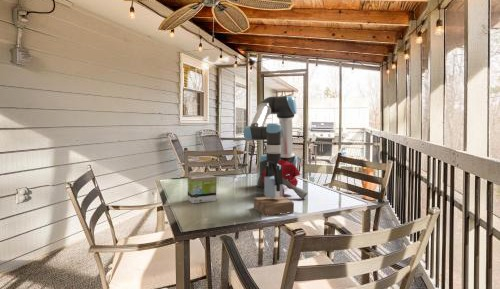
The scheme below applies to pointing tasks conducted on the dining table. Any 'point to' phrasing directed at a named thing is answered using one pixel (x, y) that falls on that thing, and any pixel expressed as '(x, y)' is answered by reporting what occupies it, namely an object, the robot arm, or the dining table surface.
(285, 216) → the dining table surface
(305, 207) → the dining table surface
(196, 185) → the tea box
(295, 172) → the bouquet
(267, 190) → the block
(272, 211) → the riser
